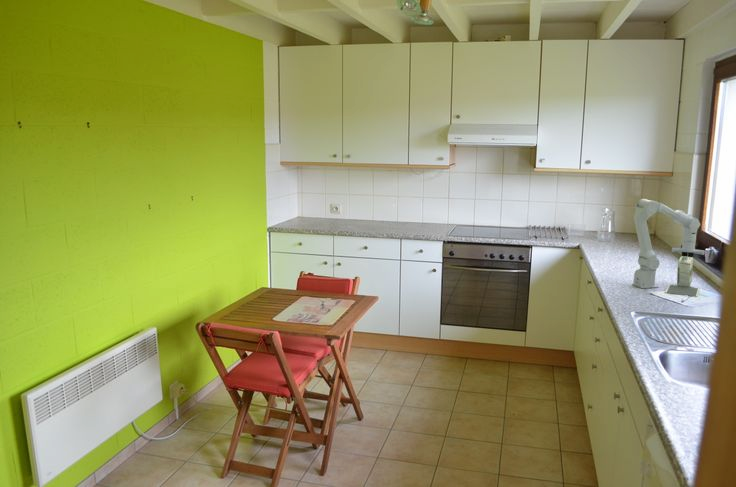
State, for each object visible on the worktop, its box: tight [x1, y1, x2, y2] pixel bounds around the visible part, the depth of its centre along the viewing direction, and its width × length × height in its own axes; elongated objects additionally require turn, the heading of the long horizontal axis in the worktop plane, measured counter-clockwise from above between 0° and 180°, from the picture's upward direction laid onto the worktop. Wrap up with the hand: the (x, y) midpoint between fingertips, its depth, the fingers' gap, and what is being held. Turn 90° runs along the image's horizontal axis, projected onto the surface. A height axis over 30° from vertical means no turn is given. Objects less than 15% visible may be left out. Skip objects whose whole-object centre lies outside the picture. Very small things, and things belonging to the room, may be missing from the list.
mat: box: [664, 284, 701, 298], centre depth 289 cm, size 18×14×1 cm
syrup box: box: [676, 255, 694, 287], centre depth 296 cm, size 6×6×14 cm
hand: (686, 267), depth 298 cm, fingers closed
